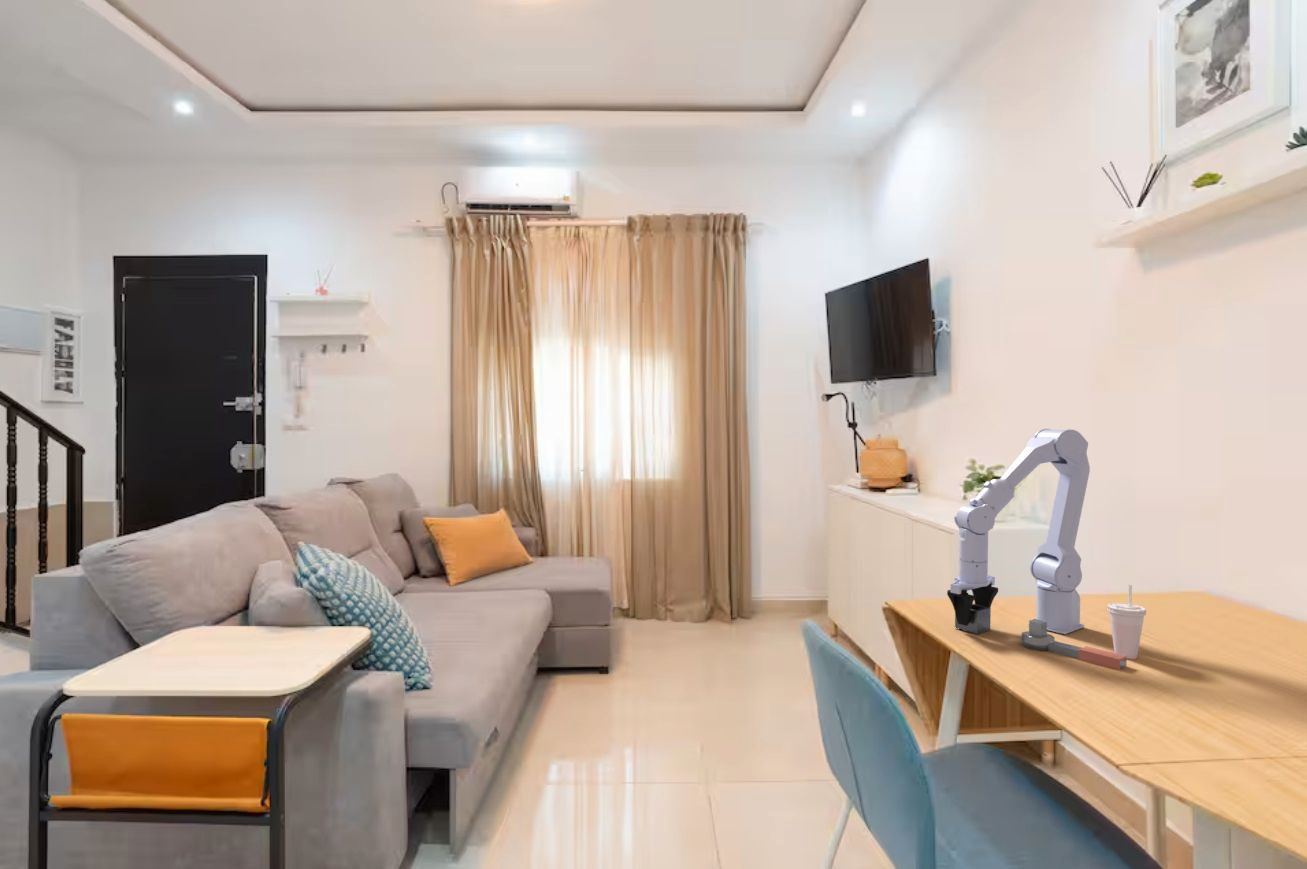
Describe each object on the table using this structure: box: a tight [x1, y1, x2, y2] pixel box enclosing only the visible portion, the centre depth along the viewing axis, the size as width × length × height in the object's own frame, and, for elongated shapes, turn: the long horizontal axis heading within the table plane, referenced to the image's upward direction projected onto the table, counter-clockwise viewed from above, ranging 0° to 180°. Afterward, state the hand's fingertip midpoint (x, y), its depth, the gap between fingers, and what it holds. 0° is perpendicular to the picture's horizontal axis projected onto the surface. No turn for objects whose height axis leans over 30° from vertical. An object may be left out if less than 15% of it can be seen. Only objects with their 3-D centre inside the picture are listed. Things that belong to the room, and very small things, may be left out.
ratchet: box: [1020, 618, 1127, 671], centre depth 140 cm, size 18×6×5 cm, turn 36°
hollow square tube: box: [954, 603, 992, 635], centre depth 156 cm, size 5×5×5 cm
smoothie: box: [1106, 584, 1147, 660], centre depth 139 cm, size 6×6×14 cm
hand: (972, 621), depth 156 cm, fingers open, 7 cm apart
